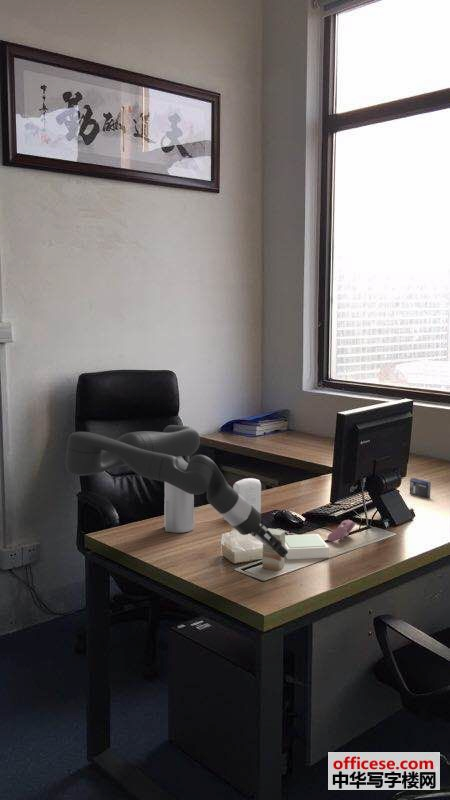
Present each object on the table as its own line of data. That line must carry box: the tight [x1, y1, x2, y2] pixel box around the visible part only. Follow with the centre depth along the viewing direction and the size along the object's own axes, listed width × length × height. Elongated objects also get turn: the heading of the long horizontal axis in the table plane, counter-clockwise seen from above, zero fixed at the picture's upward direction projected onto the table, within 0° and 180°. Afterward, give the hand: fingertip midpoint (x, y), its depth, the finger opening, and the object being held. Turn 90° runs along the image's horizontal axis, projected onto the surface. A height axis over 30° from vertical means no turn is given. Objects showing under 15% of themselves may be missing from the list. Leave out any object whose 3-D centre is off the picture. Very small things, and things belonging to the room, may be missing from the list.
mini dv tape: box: [409, 477, 432, 499], centre depth 270 cm, size 8×2×6 cm, turn 37°
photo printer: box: [232, 477, 262, 514], centre depth 246 cm, size 10×4×12 cm, turn 123°
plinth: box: [285, 533, 330, 560], centre depth 210 cm, size 12×12×3 cm
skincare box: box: [261, 527, 286, 571], centre depth 197 cm, size 5×4×10 cm
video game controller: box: [327, 519, 356, 542], centre depth 221 cm, size 10×5×7 cm, turn 149°
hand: (278, 550), depth 198 cm, fingers open, 7 cm apart
